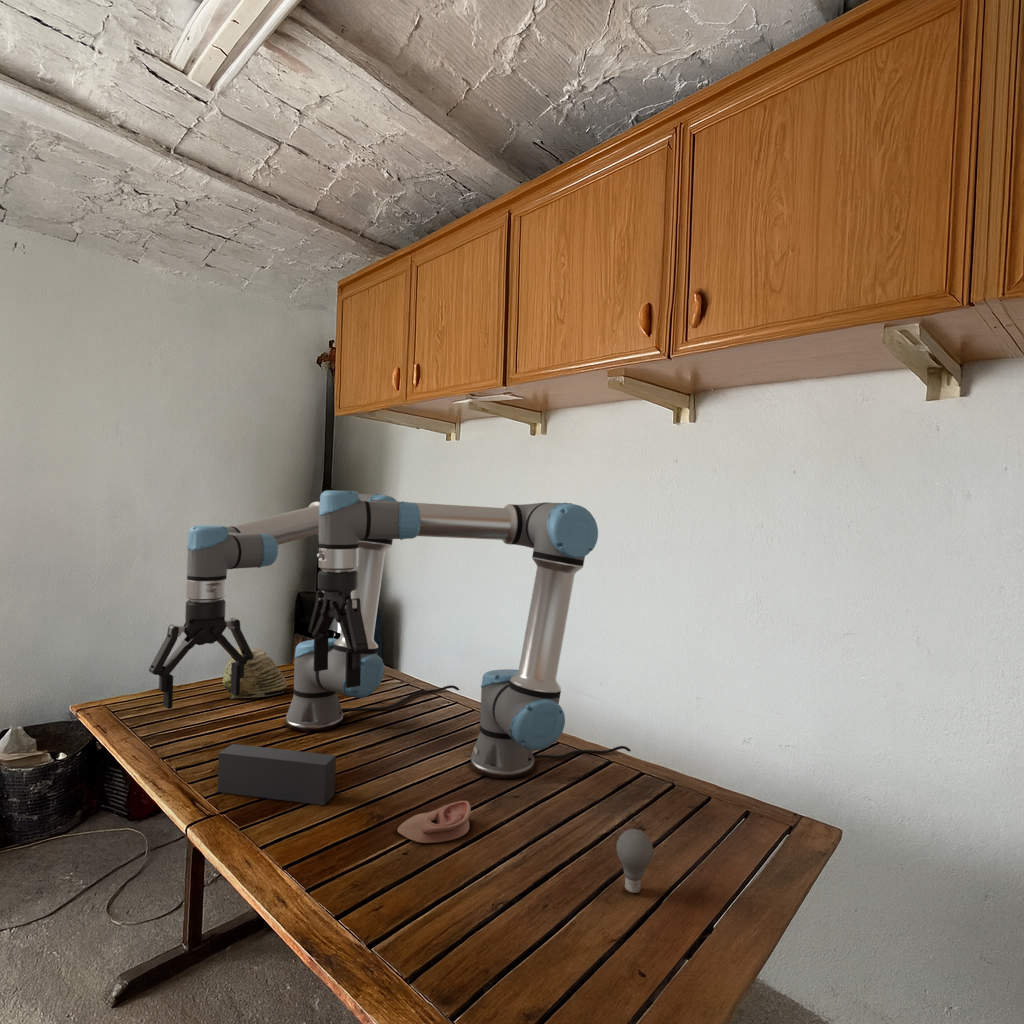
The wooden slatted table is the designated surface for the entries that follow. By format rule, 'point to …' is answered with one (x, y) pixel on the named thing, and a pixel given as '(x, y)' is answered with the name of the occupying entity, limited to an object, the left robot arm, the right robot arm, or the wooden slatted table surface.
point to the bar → (277, 774)
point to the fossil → (256, 676)
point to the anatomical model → (438, 824)
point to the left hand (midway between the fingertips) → (202, 700)
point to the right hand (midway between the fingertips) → (336, 678)
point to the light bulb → (634, 857)
